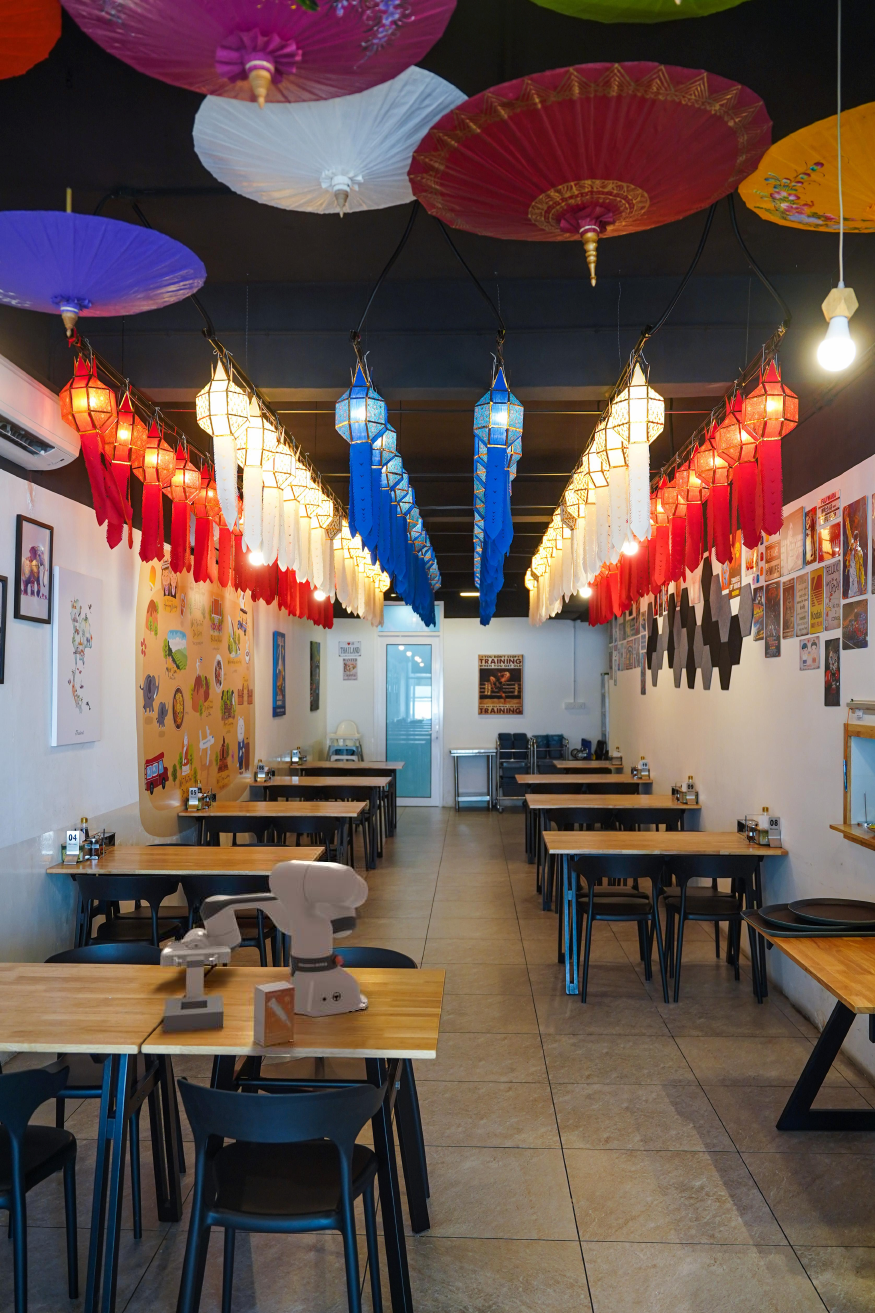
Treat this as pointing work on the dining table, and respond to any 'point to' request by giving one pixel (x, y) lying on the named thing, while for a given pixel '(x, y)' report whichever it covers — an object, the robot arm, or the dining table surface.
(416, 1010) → the dining table surface
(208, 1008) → the socket block
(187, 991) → the plug
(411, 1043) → the dining table surface
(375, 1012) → the dining table surface
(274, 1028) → the small box
